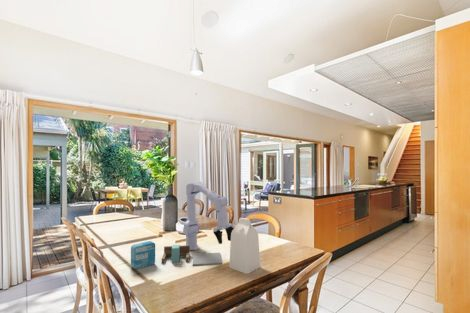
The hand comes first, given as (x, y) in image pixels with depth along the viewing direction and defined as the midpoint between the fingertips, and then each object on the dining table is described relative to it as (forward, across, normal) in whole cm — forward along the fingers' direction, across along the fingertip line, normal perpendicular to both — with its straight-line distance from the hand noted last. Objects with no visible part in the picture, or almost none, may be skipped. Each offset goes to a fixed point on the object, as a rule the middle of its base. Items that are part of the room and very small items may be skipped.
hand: (225, 242), depth 143 cm
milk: (+13, 0, -12) cm, 18 cm away
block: (+7, -19, +23) cm, 31 cm away
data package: (+6, -35, +30) cm, 47 cm away
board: (+9, -6, +11) cm, 15 cm away
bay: (+7, -18, +25) cm, 31 cm away
